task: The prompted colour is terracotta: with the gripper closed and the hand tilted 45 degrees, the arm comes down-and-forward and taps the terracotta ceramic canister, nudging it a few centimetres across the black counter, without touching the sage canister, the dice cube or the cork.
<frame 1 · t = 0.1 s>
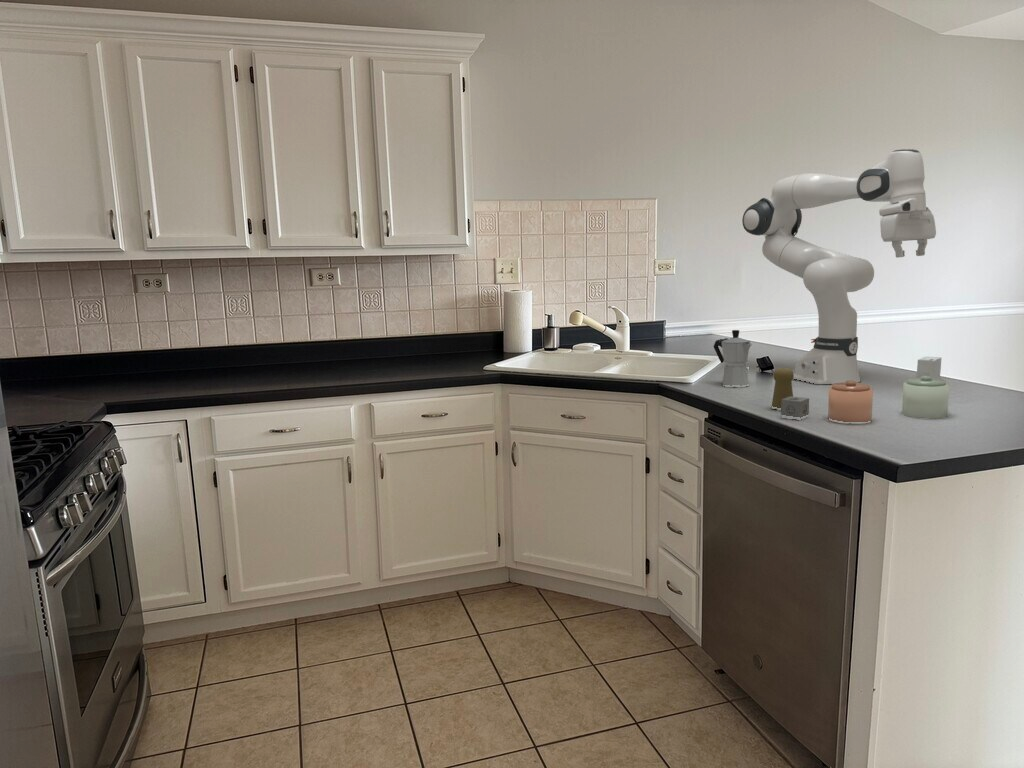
hand: (910, 256, 205), 39 cm above the counter, tool pointing down, fingers open, 8 cm apart
sage canister: (924, 414, 182), on the counter
coffee maker: (732, 385, 233), on the counter
cork: (782, 409, 196), on the counter
terracotta canister: (849, 419, 181), on the counter
skincare box: (926, 402, 196), on the counter
dice cube: (794, 418, 186), on the counter
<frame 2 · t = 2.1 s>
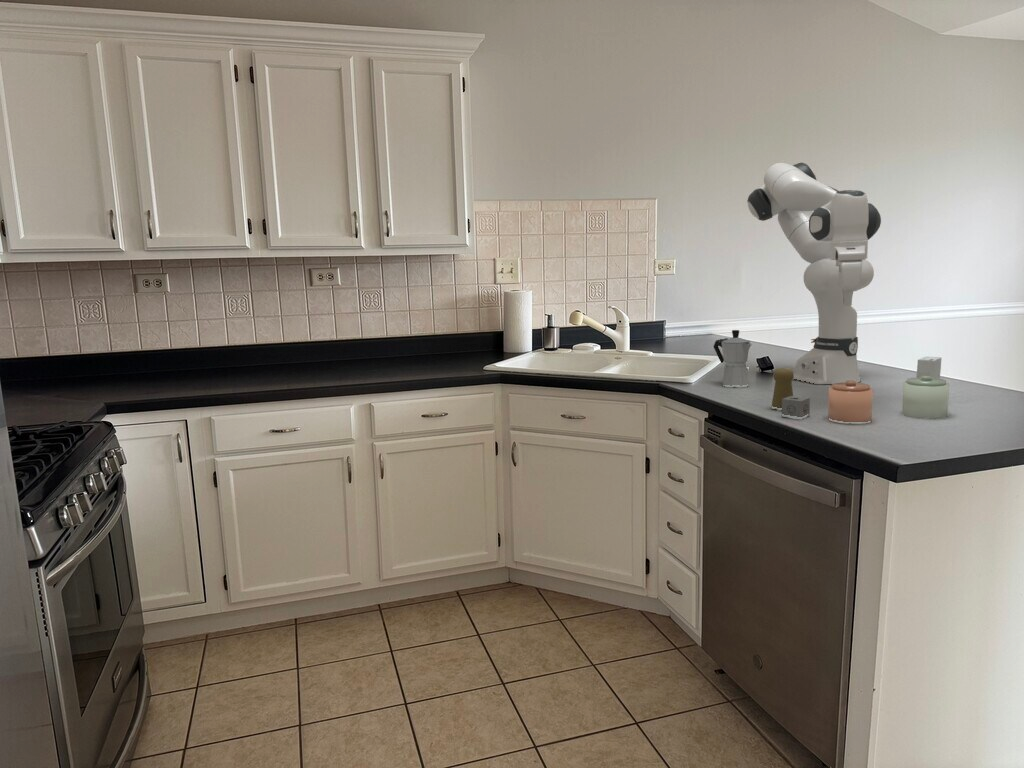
hand: (847, 305, 193), 27 cm above the counter, tool pointing down, fingers closed
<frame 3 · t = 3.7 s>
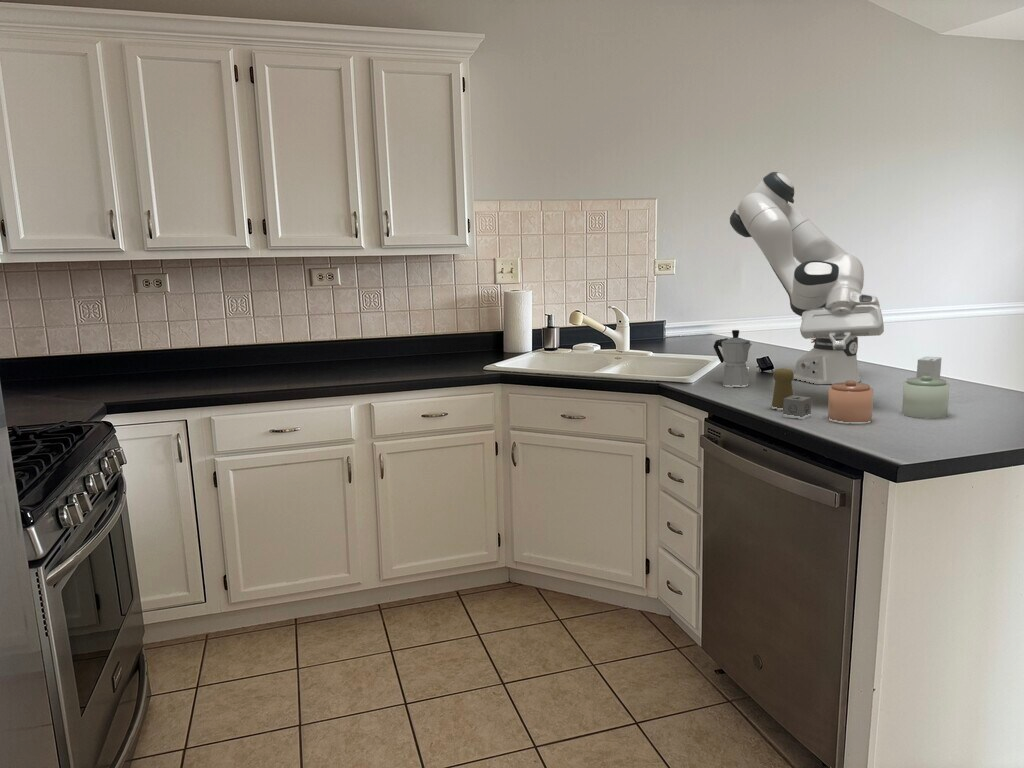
hand: (839, 348, 189), 17 cm above the counter, tool tilted 45°, fingers closed
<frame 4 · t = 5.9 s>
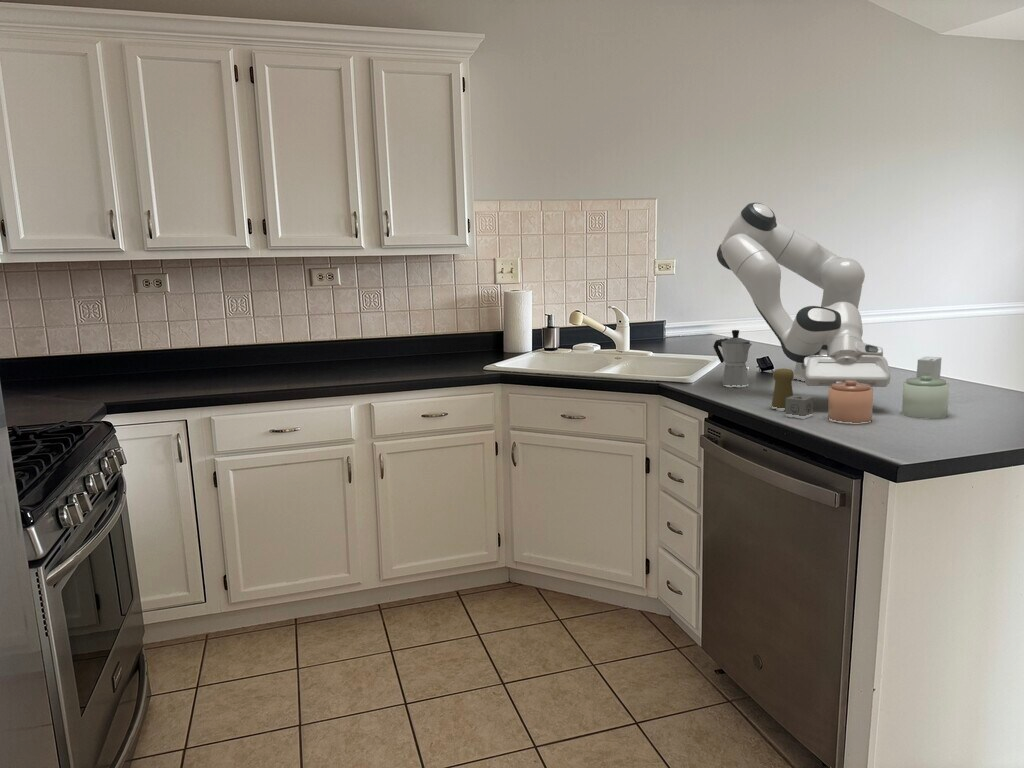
hand: (847, 398, 185), 4 cm above the counter, tool tilted 45°, fingers closed, pressing on terracotta canister
terracotta canister: (849, 419, 181), on the counter, touching gripper
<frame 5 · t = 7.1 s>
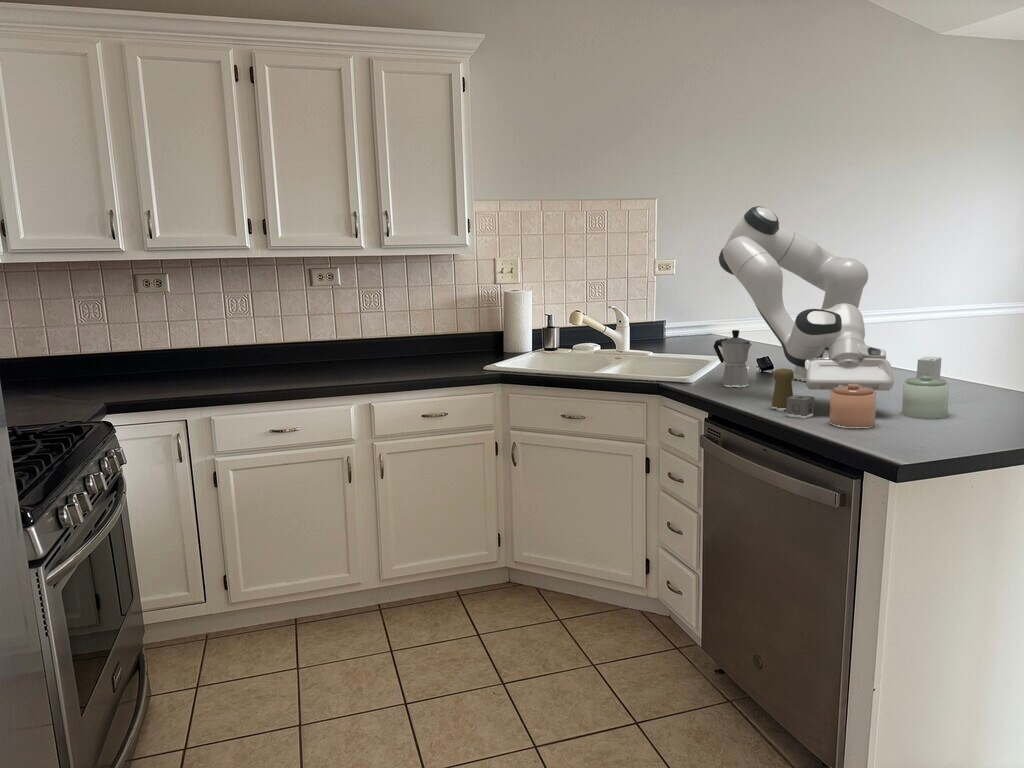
hand: (849, 402, 181), 4 cm above the counter, tool tilted 45°, fingers closed, pressing on terracotta canister
terracotta canister: (851, 424, 176), on the counter, touching gripper
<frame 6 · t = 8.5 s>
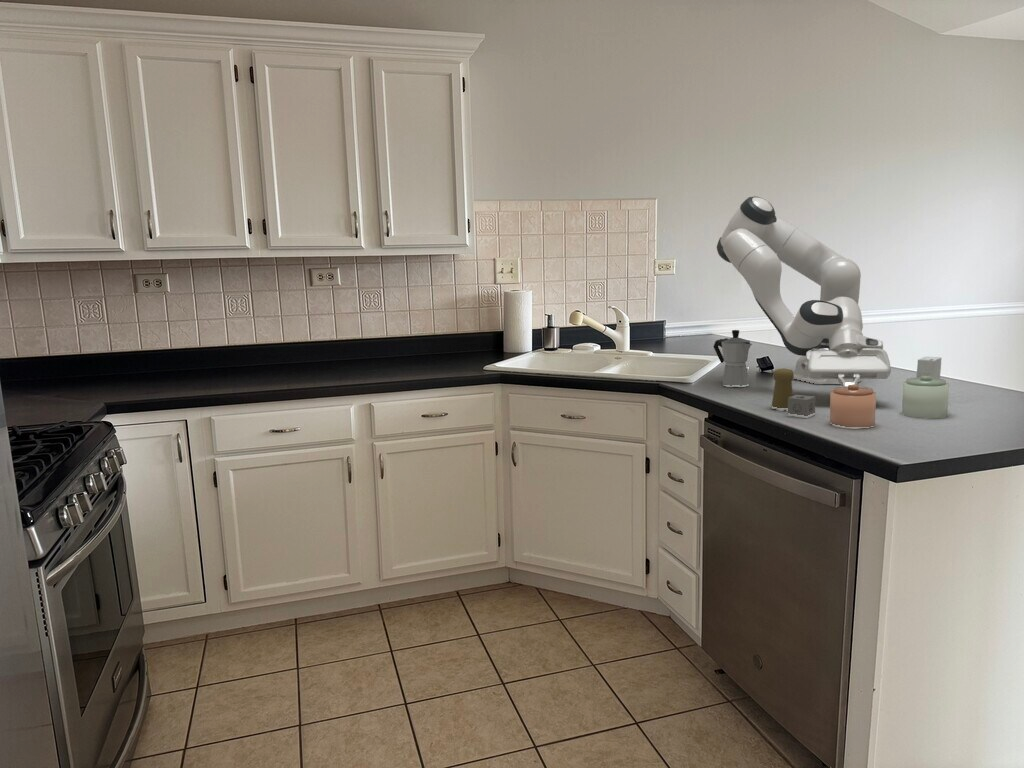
hand: (849, 390, 191), 5 cm above the counter, tool tilted 45°, fingers closed
terracotta canister: (852, 424, 176), on the counter
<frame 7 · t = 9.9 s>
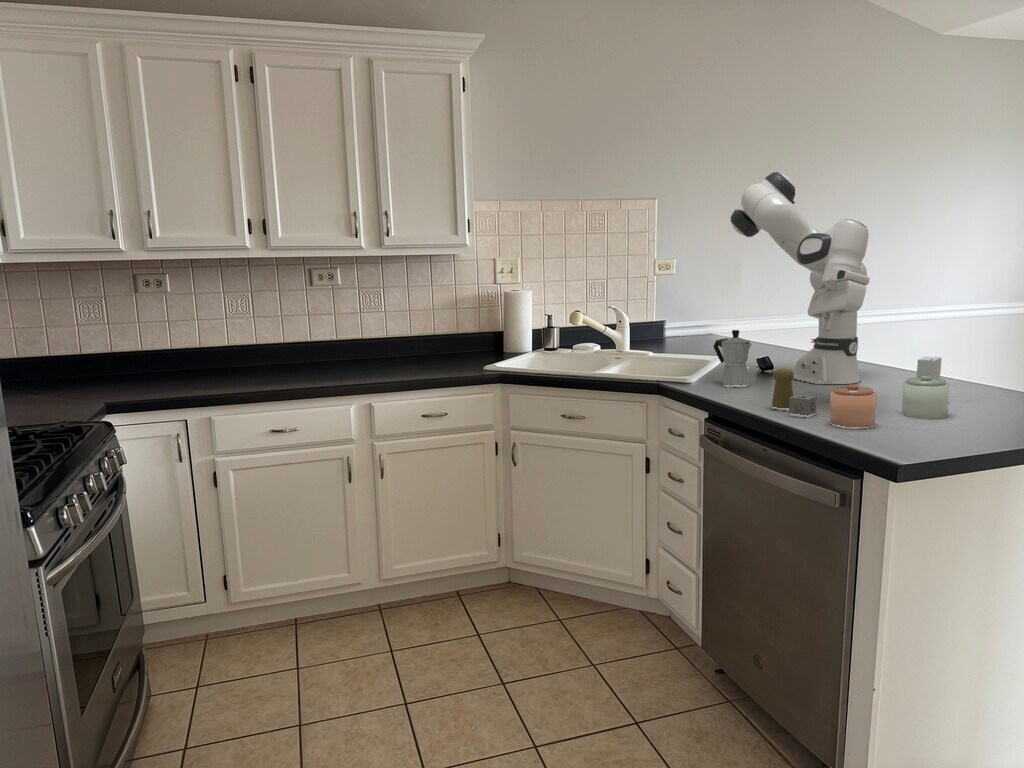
hand: (827, 330, 190), 21 cm above the counter, tool tilted 20°, fingers closed
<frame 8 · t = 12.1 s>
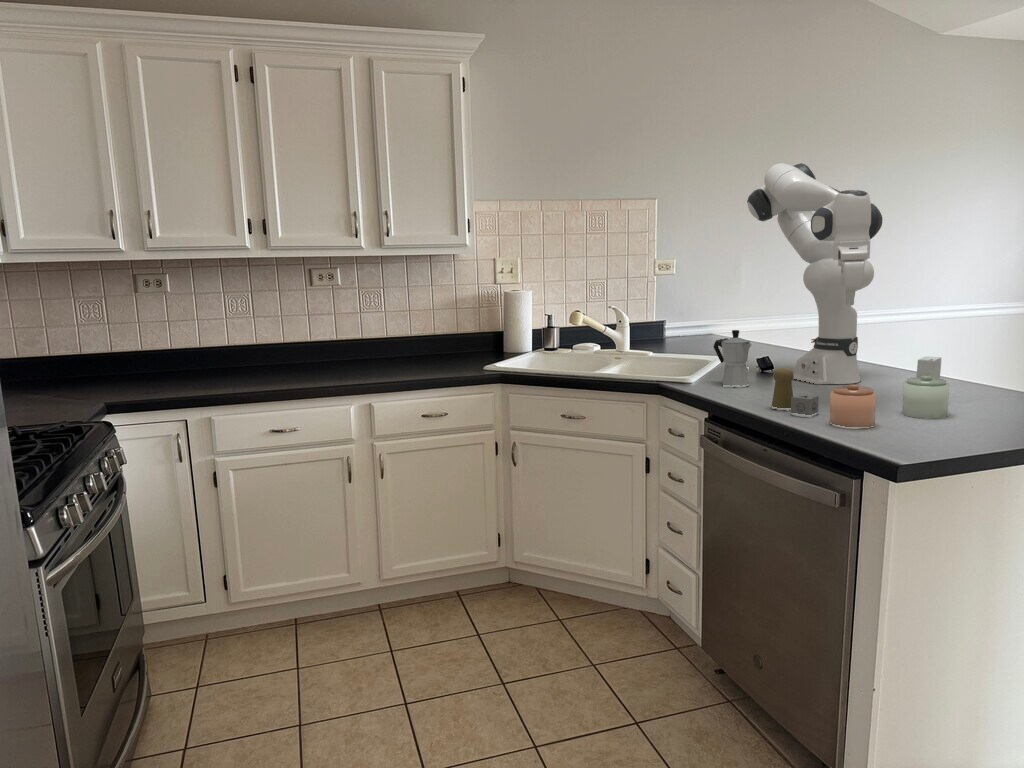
hand: (849, 305, 194), 27 cm above the counter, tool pointing down, fingers closed
at the end: terracotta canister moved 5.2 cm from its start; terracotta canister tilted 0°; sage canister moved 0.1 cm from its start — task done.
